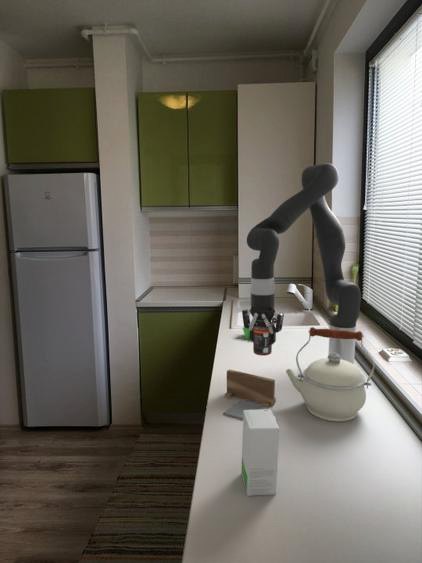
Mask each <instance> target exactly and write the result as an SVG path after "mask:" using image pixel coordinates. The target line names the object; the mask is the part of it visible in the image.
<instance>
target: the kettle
mask: <svg viewBox="0 0 422 563" xmlns="http://www.w3.org/2000/svg"><path fill="white" fill-rule="evenodd" d="M308 334H309V339H308V340H307V342H306V343H305V344H303V345H302V347H301V348H299V350H298V351H297V354H296V357H295V362H296V367H297V369H298V371H299V373H298V374H297V375H296V374H295V373H294V371H293V369H292V368H287V369H285V371H284V372H285V373H286V376H288V378H289V380H290V382H291V384H292V385H293V387H294V388H295V390H296V391H297V392H298V393H300V395H301V397H302V400H303V402H304V403H305V404H306V406H307V410H308V411H309V413H310V414H312V415H313V416H314V417H317V418H319V419H321V420H324V421H330V422H348V421H351V420H353V419H354V418H355V417H357V415H358V412H359V411H360V410H361V409H363V407H364V405H365V403H366V399H367V393H366V389H368V388H369V386H372V383H371V382H369V381H370V380H371V378H372V376H373V374H374V372H375V361H374V359H373V357H372V355H371V354H370V353H369V351H368V350H367V349H366V348H365V346H364V345H363V338H364V334H363V331H360V330H357V331H356V332H351V331H346V330H336V329H335V330H334V329H329V328H316V327H315V326H313V327H312V326H311V327H309V330H308ZM315 336H316V337H321V338H322V337H323V338H326V339H327V338H328V339H329V338H337V339H339V338H340V339H355V341H356V340H357V341H361V342H360V345H361V348H362V349H363V351H364V352H365V353H366V354H367V356H368V357H369V358H370V360H371V363H372V368H371V372H370V374H369V375H368V378H367V379H366V377H365V376H364V374H362V372H361V370H360V368H359V367H357V365H355V363H354V364H352V363H350V362H348V361H345V360H342V358H341V357H340V355H339V354H337V353H335V352H334V353H332V354H330V355H329V356H328V355H327V357H326V358H324V357H323V358H320V359H316V360H314V361H312V362H311V363H310V364H309V365H308V366H307V368H305V369H304V370H303V372H302V370H301V366H300V363H299V354H300V353H301V351H302V350H303V349H304V348H306V346H307V345H308V344H309V343H310V341H311V338H313V337H315Z"/></svg>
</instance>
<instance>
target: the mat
mask: <svg viewBox="0 0 422 563" xmlns="http://www.w3.org/2000/svg"><path fill="white" fill-rule="evenodd" d="M259 409H270V407H265V406H262V404H261V405H260V404H259V403H255V402H251V401H250V402H249V401H248V400H244V399H238V400H237V401H236V402H235V403H233V404H232V405H231V406H229V407H228V408H227V409H226V410H224V411H223V412H222V415H223V416H227V417H231V418H234V419H237V420H240V421H243V410H259Z"/></svg>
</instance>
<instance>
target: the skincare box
mask: <svg viewBox="0 0 422 563" xmlns="http://www.w3.org/2000/svg"><path fill="white" fill-rule="evenodd" d="M241 440H242V441H241V442H242V448H241V451H242V452H241V468H240V469H241V476H242V477H241V478H242V480H243V485H244V488H245V492H246V496H247V497H257V496H271V495H273V496H274V495H276V494H277V478H278V465H279V464H278V459H279V446H280V445H279V444H280V442H279V440H280V427H279V425H278V422H277V417H276V416H275V415H274V413H273V411H272V409H270V408H269V409H259V410H243V420H242V439H241Z"/></svg>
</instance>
